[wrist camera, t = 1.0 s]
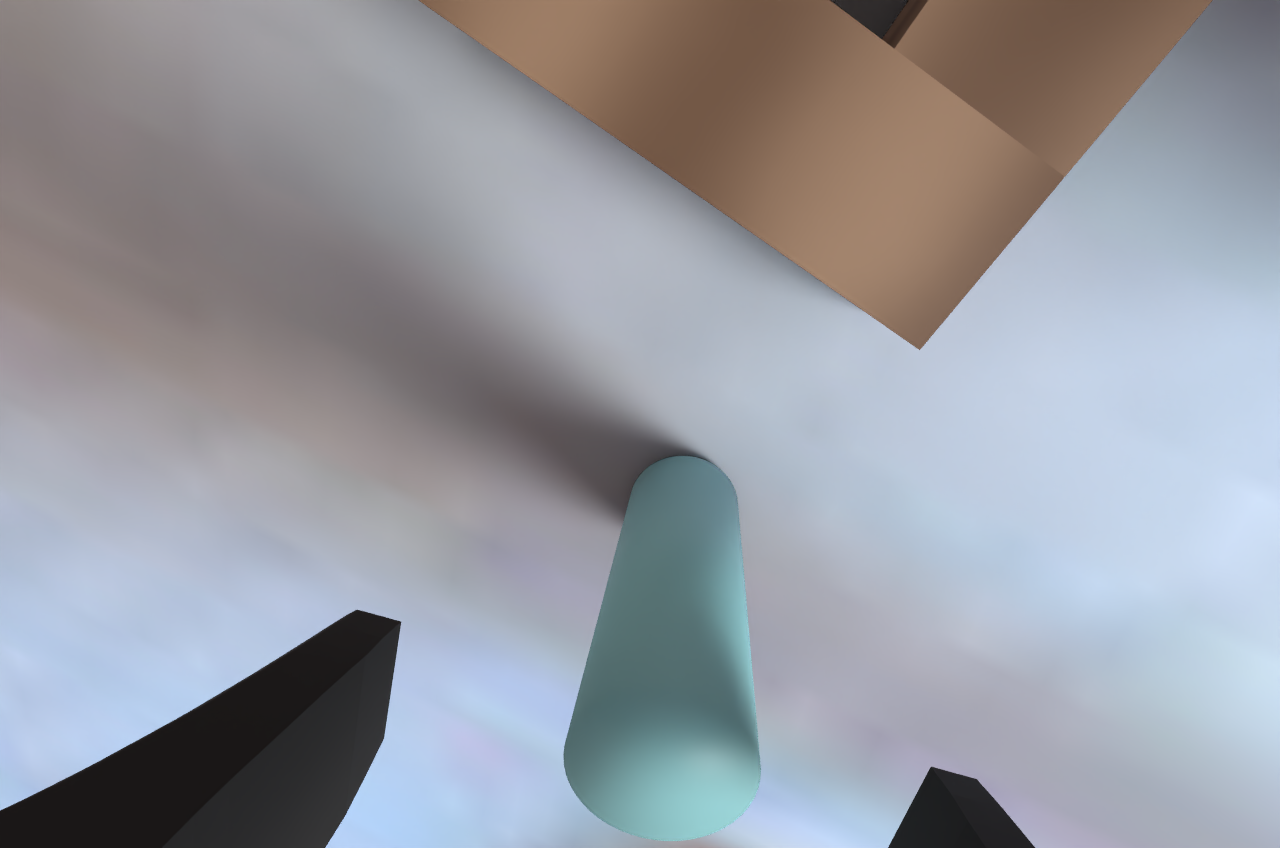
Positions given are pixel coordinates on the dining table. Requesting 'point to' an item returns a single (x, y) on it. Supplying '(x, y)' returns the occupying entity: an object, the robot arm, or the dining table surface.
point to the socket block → (849, 117)
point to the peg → (670, 666)
